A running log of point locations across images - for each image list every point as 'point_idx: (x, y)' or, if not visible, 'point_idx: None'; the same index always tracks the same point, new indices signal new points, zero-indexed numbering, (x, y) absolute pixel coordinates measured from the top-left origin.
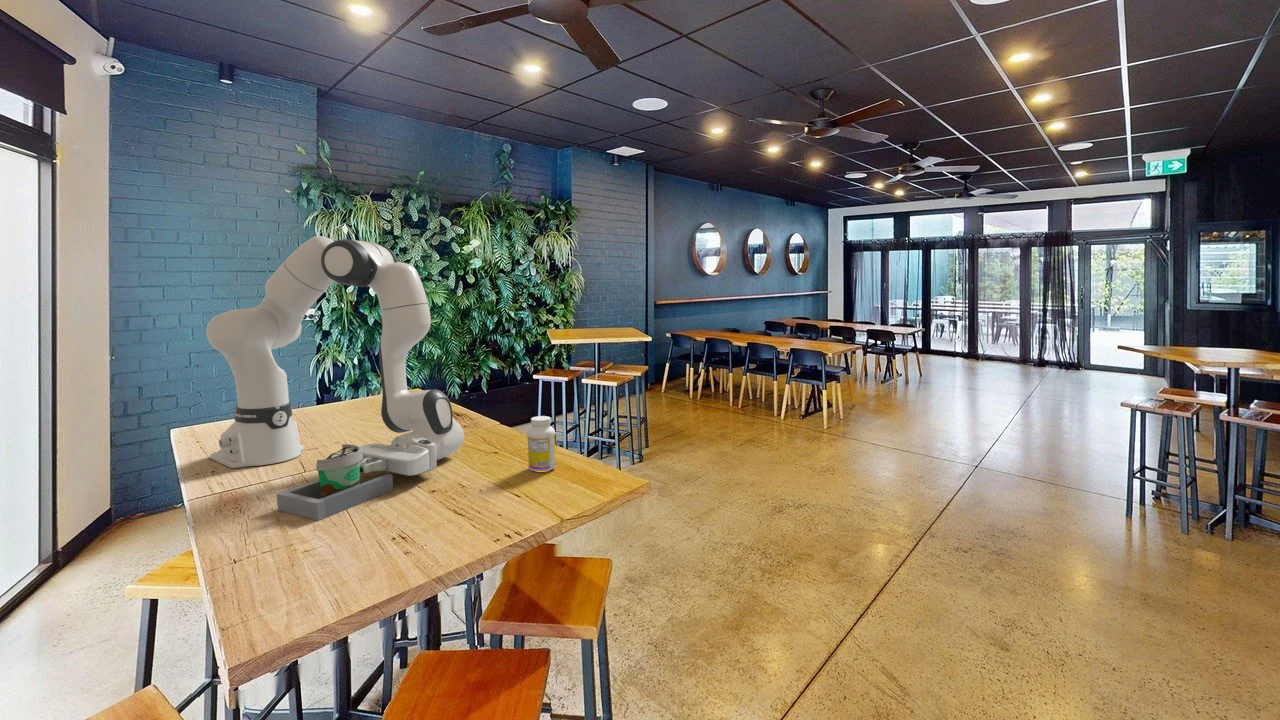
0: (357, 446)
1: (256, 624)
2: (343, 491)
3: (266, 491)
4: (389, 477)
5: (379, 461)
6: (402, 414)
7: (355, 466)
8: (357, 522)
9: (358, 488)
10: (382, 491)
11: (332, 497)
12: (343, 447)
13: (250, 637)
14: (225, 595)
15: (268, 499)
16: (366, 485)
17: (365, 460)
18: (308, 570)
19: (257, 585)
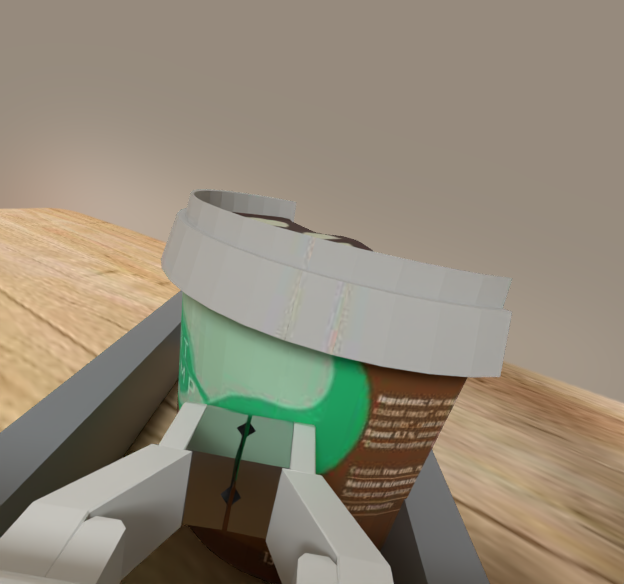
0: (304, 235)
1: (74, 219)
2: (162, 324)
3: (610, 473)
4: None
5: (60, 501)
6: None
7: (183, 294)
8: (37, 326)
9: (110, 350)
10: None
11: (170, 299)
12: (487, 305)
13: (67, 214)
14: (154, 241)
15: (495, 422)
16: (78, 374)
17: (307, 511)
18: (67, 247)
19: (127, 243)
